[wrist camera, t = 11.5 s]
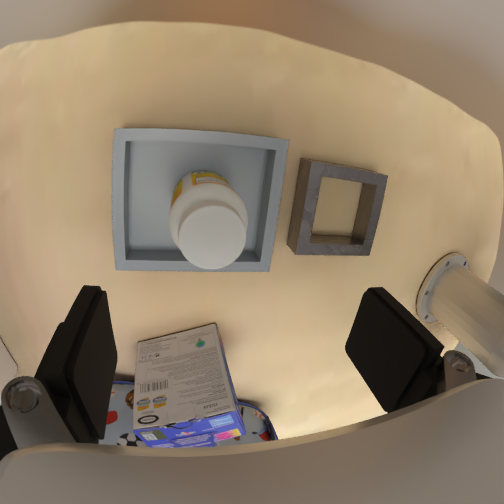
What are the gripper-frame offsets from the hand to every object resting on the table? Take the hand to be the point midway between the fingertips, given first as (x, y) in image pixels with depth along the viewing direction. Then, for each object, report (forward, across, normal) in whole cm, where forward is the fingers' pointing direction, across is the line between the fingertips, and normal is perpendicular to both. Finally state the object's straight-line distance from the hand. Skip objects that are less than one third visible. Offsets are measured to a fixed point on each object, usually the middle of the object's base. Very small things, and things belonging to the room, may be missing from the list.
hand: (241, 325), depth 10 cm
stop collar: (+19, -13, 0) cm, 23 cm away
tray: (+18, +1, 0) cm, 18 cm away
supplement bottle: (+18, +1, 0) cm, 18 cm away
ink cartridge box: (+19, +2, +18) cm, 26 cm away
